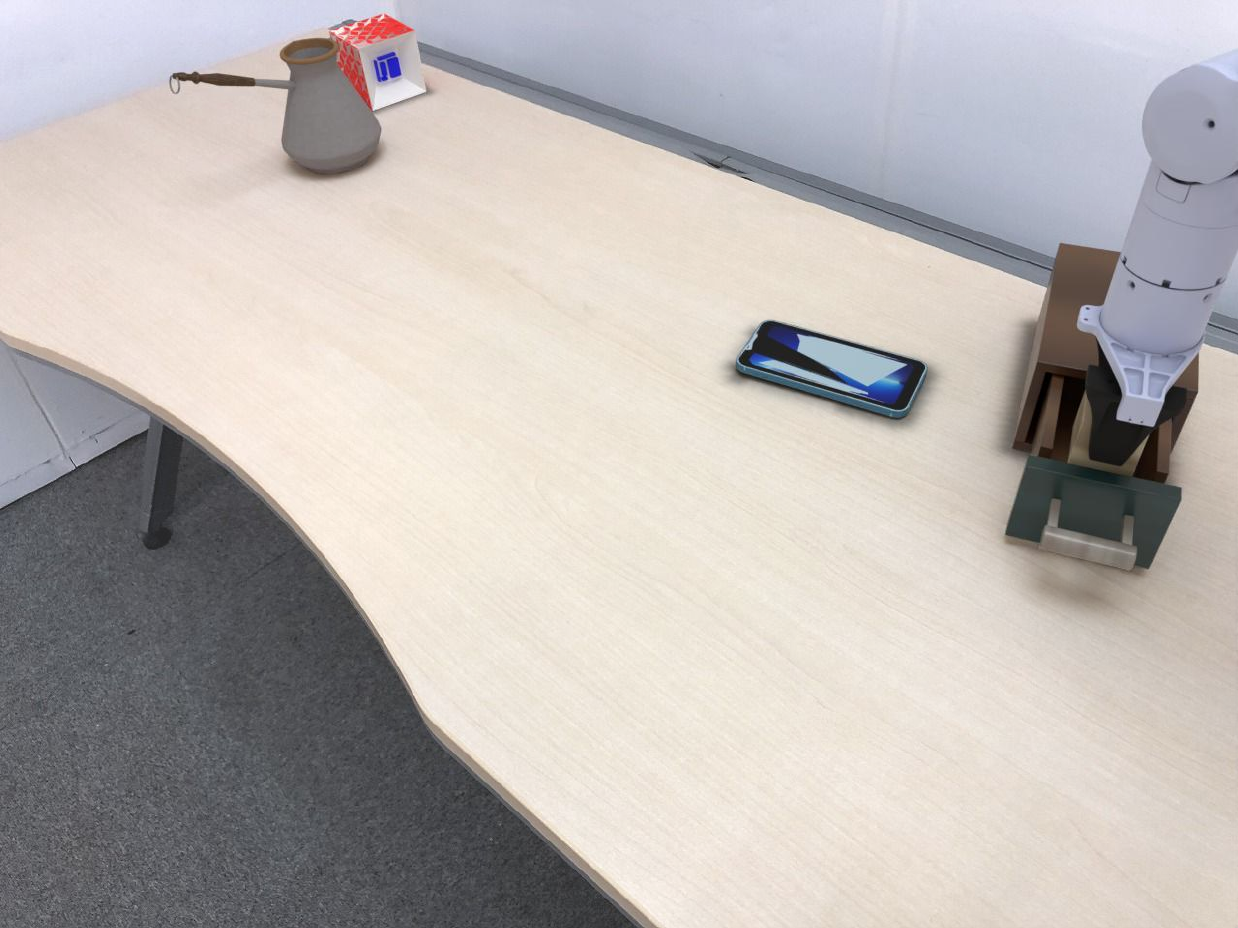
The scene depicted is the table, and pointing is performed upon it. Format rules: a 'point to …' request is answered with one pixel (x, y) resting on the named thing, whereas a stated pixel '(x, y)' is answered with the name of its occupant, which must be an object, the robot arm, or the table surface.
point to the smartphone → (833, 367)
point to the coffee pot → (314, 107)
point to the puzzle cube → (380, 60)
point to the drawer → (1091, 491)
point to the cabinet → (1077, 335)
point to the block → (1081, 445)
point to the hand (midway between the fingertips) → (1108, 436)
